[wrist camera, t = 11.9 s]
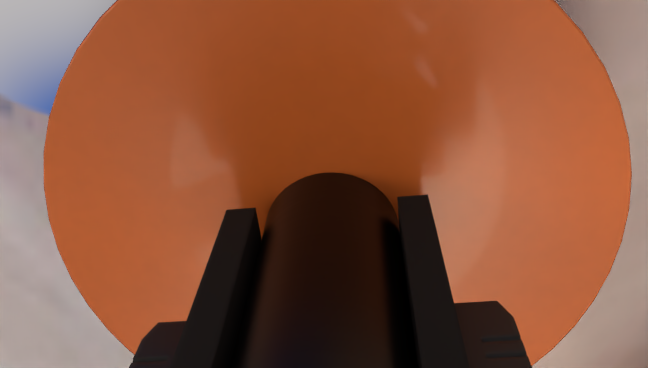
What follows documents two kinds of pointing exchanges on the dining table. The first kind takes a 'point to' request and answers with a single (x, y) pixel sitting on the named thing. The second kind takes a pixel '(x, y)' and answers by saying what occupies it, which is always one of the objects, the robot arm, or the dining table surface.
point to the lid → (337, 166)
